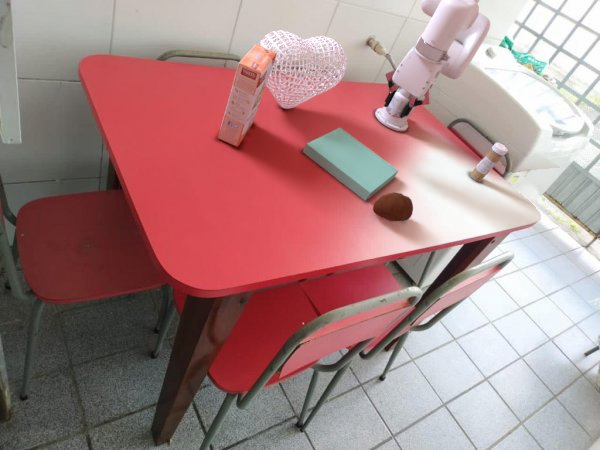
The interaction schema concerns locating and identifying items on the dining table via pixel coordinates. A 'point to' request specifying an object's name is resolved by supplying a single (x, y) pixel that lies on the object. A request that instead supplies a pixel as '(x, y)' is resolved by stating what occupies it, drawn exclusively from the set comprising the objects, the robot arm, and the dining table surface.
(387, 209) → the potato
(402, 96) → the pill bottle
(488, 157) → the sprinkles bottle
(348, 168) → the foam pad
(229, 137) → the cracker box
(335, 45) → the heart
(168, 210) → the dining table surface
